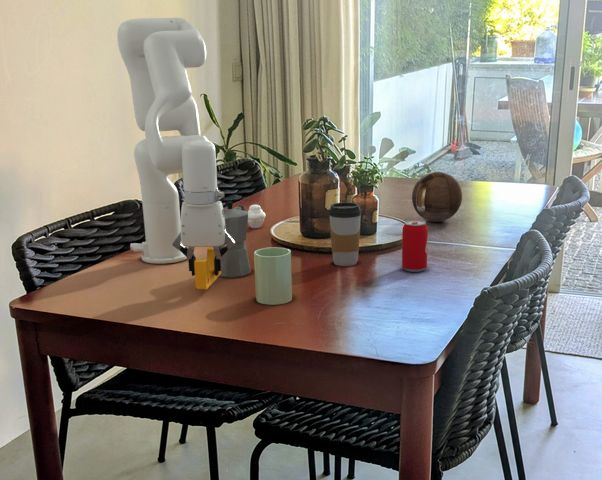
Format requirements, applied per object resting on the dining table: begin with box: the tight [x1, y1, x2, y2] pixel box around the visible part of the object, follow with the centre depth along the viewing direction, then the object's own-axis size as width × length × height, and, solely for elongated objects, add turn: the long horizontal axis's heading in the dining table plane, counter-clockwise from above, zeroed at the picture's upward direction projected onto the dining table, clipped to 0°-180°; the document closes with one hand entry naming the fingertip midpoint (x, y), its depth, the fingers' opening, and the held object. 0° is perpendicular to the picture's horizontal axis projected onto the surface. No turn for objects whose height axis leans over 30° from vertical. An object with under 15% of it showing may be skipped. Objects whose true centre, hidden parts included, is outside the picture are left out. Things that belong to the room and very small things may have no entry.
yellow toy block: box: [194, 247, 221, 290], centre depth 202 cm, size 12×4×6 cm, turn 169°
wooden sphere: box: [411, 171, 463, 223], centre depth 261 cm, size 15×15×15 cm
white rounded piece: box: [247, 204, 266, 229], centre depth 261 cm, size 6×6×7 cm
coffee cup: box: [328, 201, 362, 267], centre depth 220 cm, size 8×8×15 cm
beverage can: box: [401, 219, 429, 273], centre depth 214 cm, size 6×6×12 cm
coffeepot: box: [218, 200, 252, 278], centre depth 215 cm, size 15×9×18 cm, turn 163°
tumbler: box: [253, 246, 293, 306], centre depth 194 cm, size 8×8×11 cm
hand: (205, 273), depth 202 cm, fingers closed on yellow toy block, 4 cm apart
